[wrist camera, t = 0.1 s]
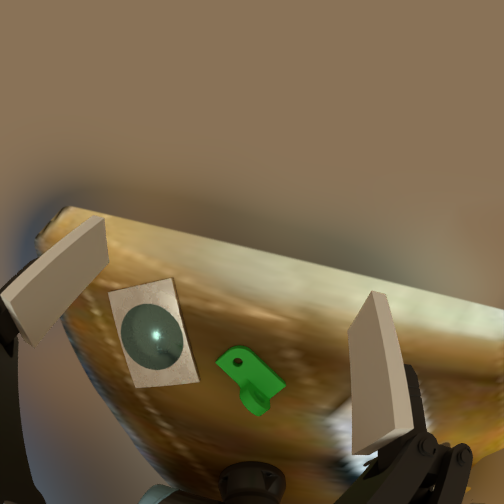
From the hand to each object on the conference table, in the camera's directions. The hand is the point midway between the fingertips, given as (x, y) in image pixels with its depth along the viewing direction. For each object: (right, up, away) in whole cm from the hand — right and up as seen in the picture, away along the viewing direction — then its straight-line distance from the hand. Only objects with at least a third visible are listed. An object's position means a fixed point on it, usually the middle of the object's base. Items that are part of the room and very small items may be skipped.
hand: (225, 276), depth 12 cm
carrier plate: (-18, -15, +36) cm, 42 cm away
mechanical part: (+1, -21, +35) cm, 41 cm away
